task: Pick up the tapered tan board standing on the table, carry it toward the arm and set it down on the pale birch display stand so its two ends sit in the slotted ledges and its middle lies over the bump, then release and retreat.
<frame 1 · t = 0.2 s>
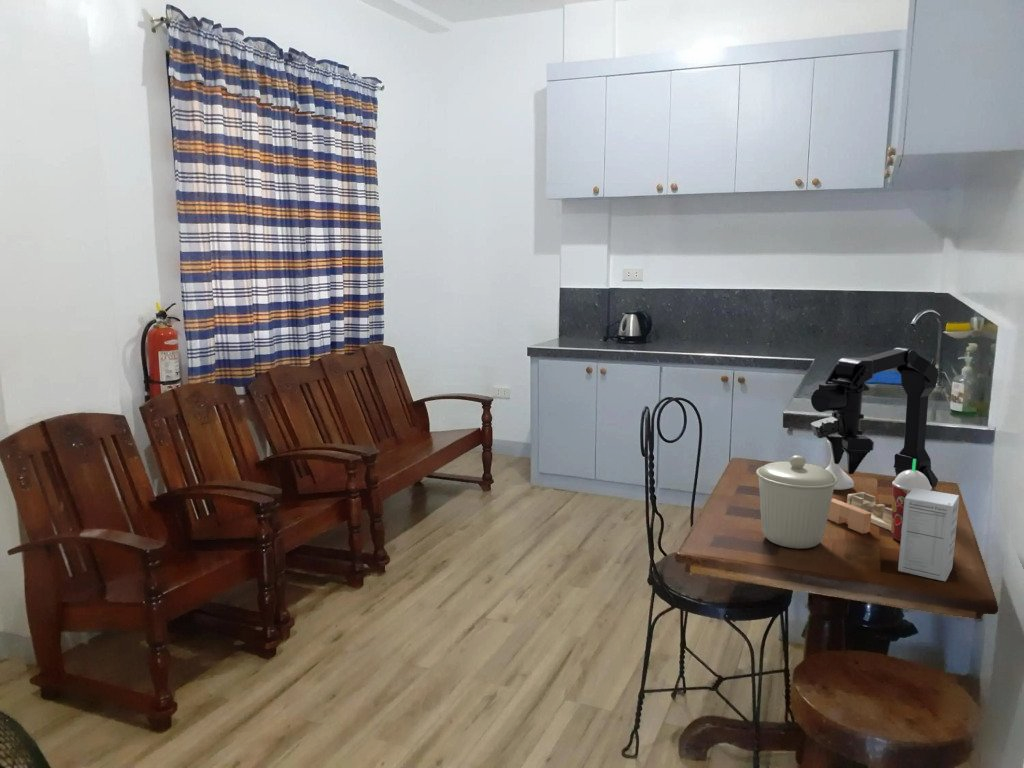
hand: (843, 468, 192), 14 cm above the table, fingers open, 9 cm apart
smoothie: (906, 540, 182), on the table
canister: (791, 541, 180), on the table
flower in vase: (834, 488, 221), on the table
supplement box: (924, 570, 165), on the table
tapered tan board: (846, 524, 191), on the table
display stand: (878, 519, 196), on the table
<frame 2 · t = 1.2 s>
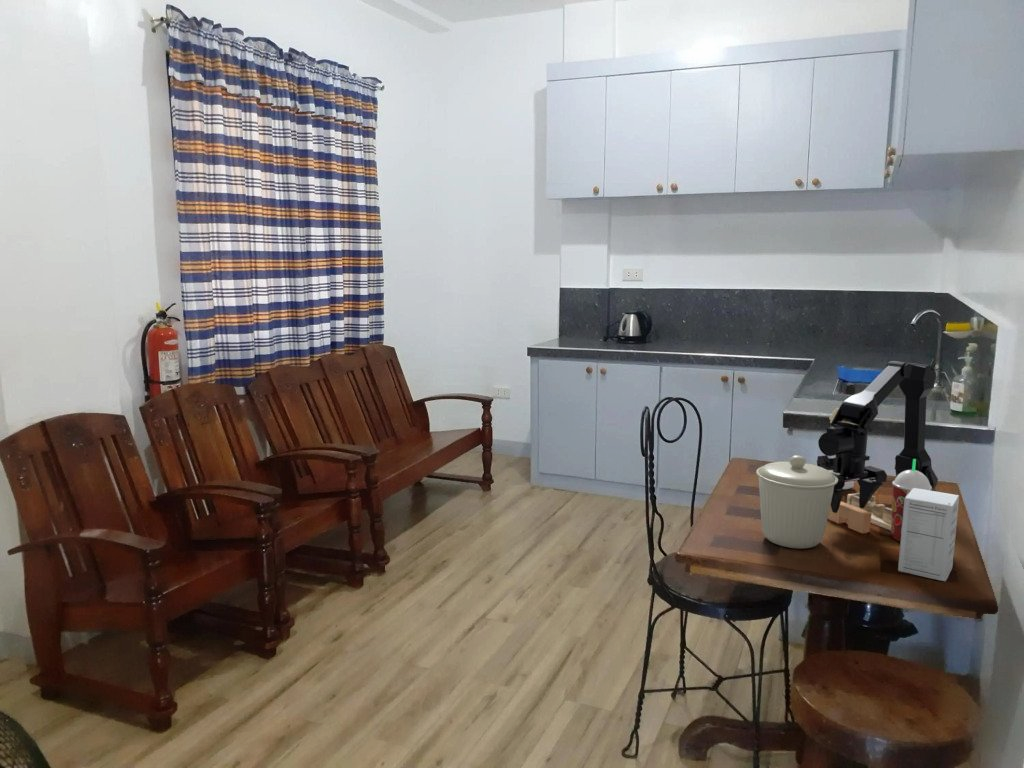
hand: (848, 510, 191), 4 cm above the table, fingers open, 9 cm apart
nothing on the table moved.
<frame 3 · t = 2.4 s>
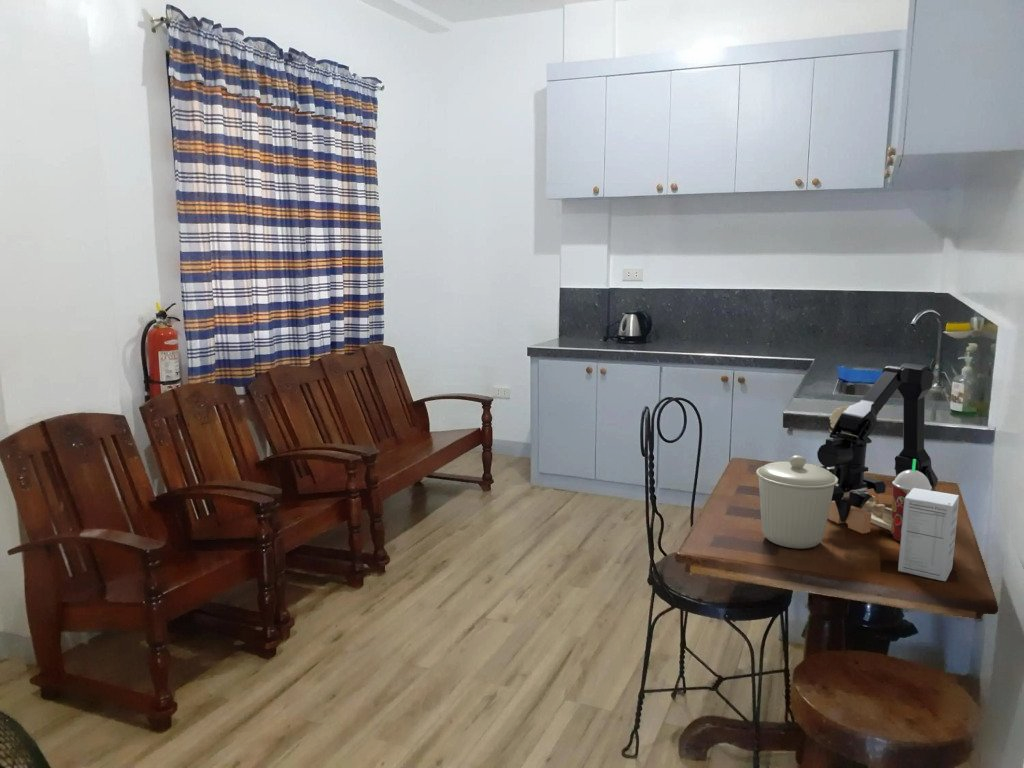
hand: (847, 520, 191), 1 cm above the table, fingers closed on tapered tan board, 2 cm apart
tapered tan board: (846, 524, 191), on the table, touching gripper
everything else where it was.
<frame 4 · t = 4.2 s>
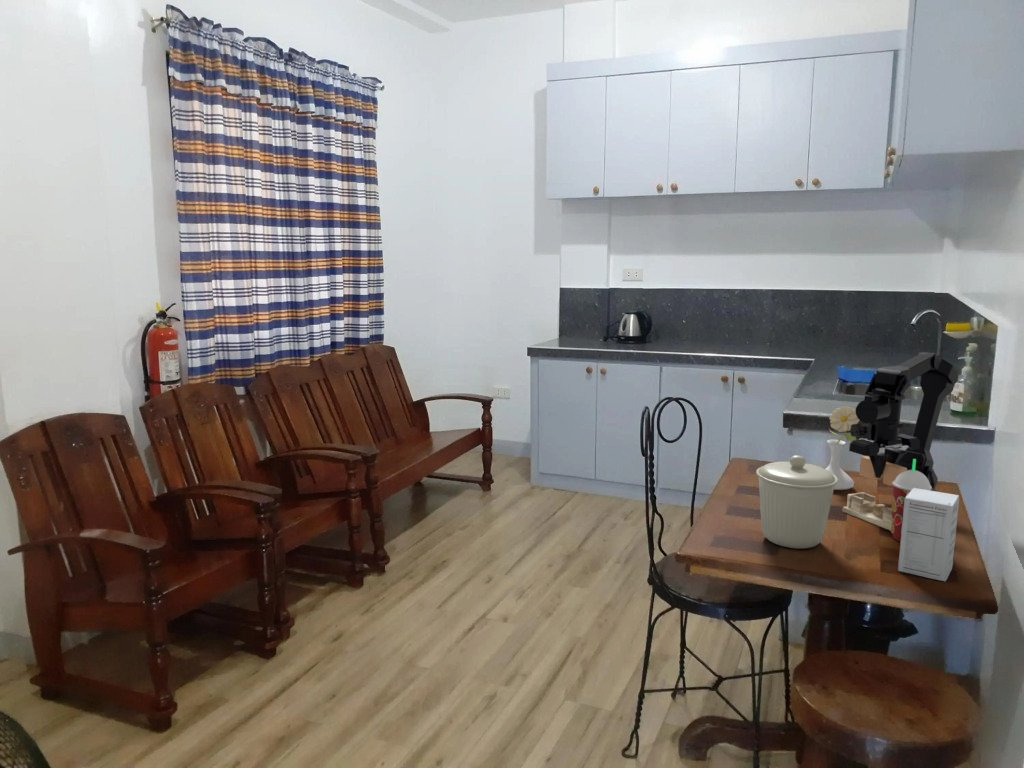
hand: (881, 477, 194), 11 cm above the table, fingers closed on tapered tan board, 2 cm apart
tapered tan board: (881, 480, 194), point 10 cm above the table, touching gripper
everything else where it was.
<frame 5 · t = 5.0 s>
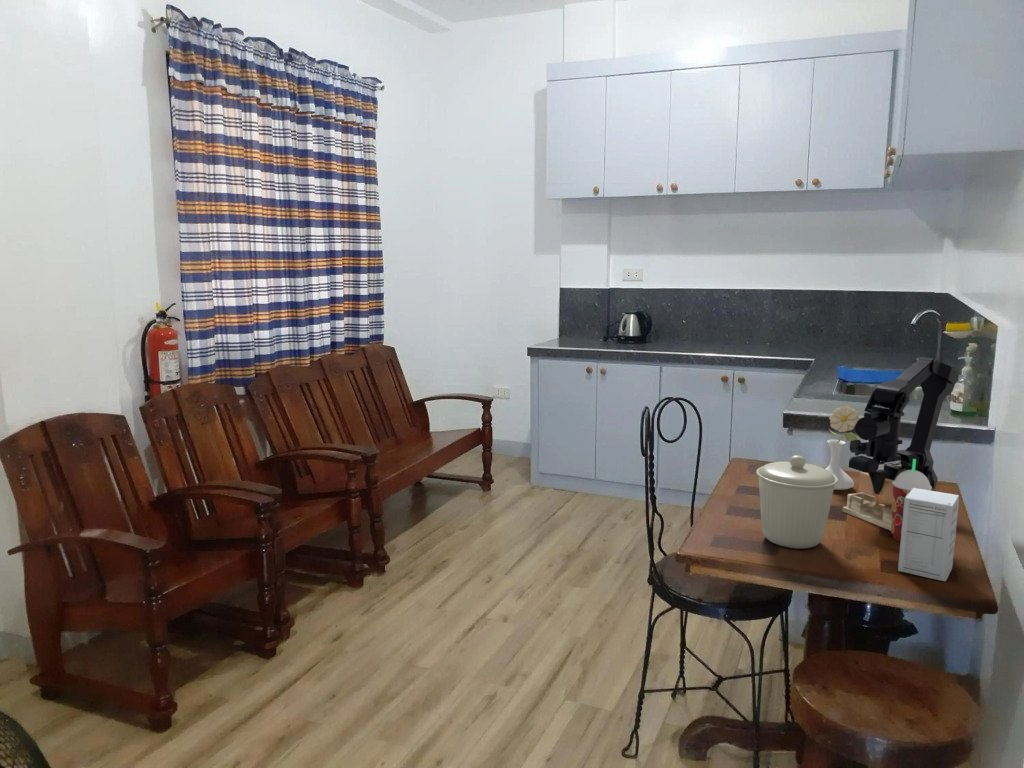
hand: (880, 493, 194), 7 cm above the table, fingers closed on tapered tan board, 2 cm apart
tapered tan board: (880, 497, 195), point 6 cm above the table, touching gripper
everything else where it was.
when the fingers open (5 cm above the table, at t = 5.9 s): tapered tan board stays where it is, resting on display stand.
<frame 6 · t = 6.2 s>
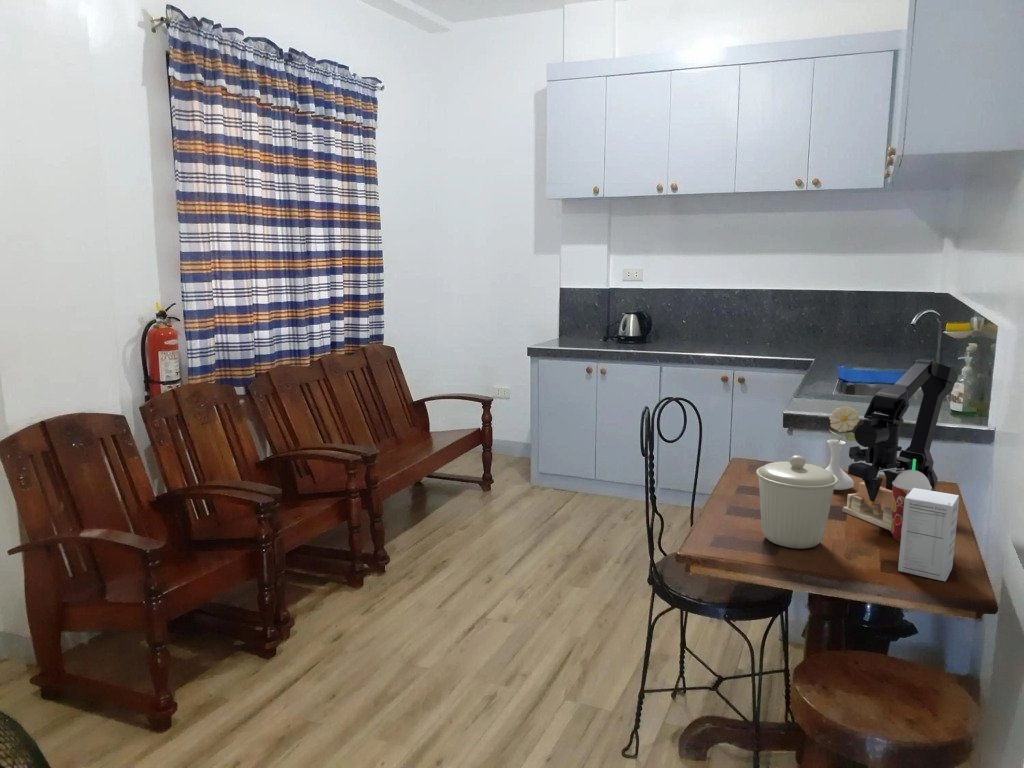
hand: (880, 499, 195), 5 cm above the table, fingers open, 5 cm apart
tapered tan board: (879, 507, 195), point 3 cm above the table, touching display stand
everything else where it was.
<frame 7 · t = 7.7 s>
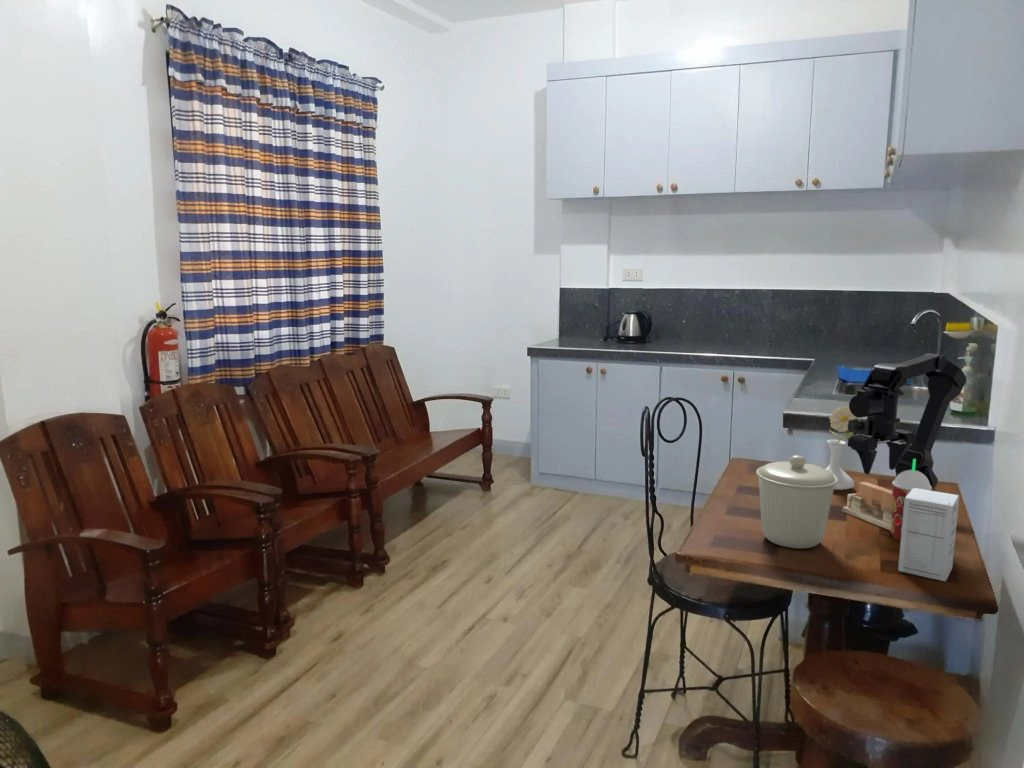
hand: (879, 471, 197), 12 cm above the table, fingers open, 9 cm apart
nothing on the table moved.
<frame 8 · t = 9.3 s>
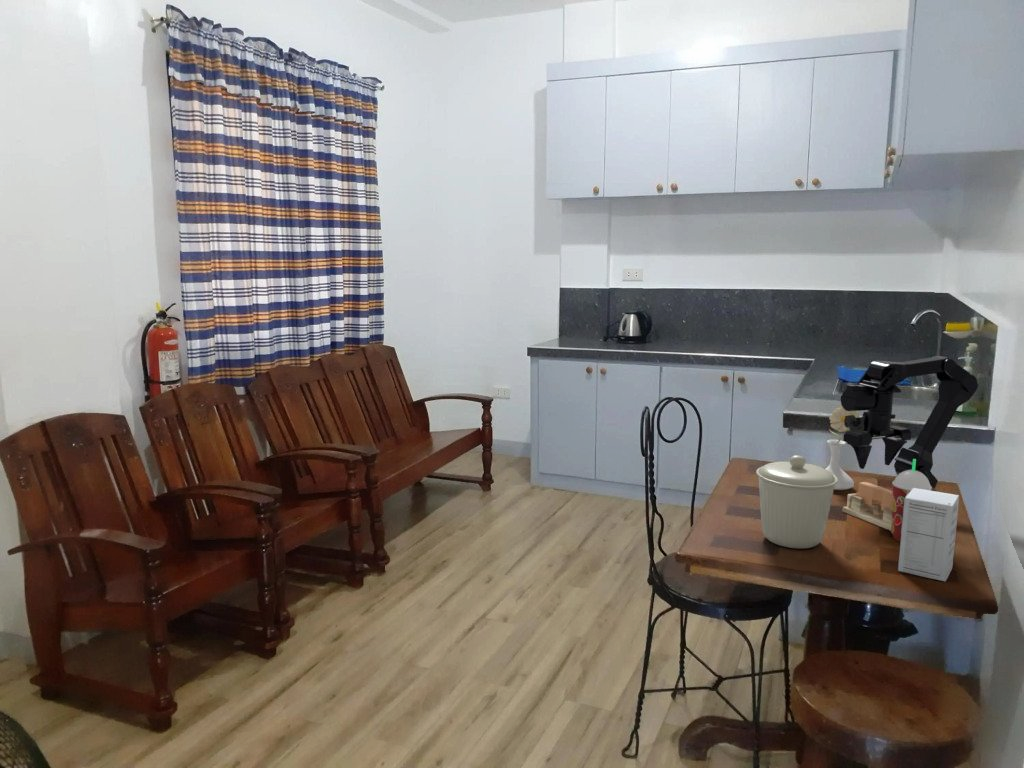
hand: (874, 466, 200), 12 cm above the table, fingers open, 9 cm apart
nothing on the table moved.
at the end: tapered tan board 0.0 cm off-centre on the display stand, point 3.2 cm above the display stand's base; tapered tan board tilted 0°; tapered tan board touching display stand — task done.
